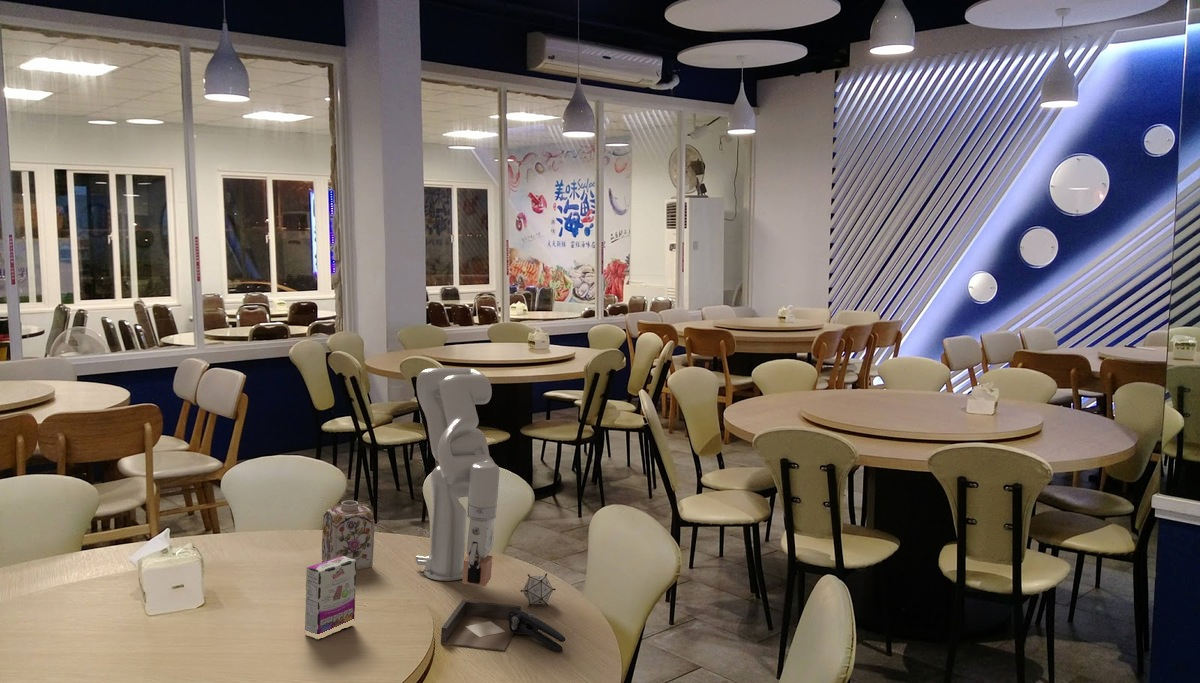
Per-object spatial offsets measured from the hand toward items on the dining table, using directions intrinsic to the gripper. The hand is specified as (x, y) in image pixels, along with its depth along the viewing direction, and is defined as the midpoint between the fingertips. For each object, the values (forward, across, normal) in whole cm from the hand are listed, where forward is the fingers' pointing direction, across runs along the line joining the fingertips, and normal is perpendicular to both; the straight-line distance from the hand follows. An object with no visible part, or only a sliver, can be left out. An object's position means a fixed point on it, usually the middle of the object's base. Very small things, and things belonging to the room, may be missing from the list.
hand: (477, 577), depth 231 cm
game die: (+7, +4, -16) cm, 18 cm away
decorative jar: (+9, +18, +42) cm, 47 cm away
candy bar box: (+7, -26, +28) cm, 39 cm away
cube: (+1, 0, 0) cm, 1 cm away
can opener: (+6, -18, -20) cm, 27 cm away
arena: (+7, -17, -6) cm, 19 cm away
